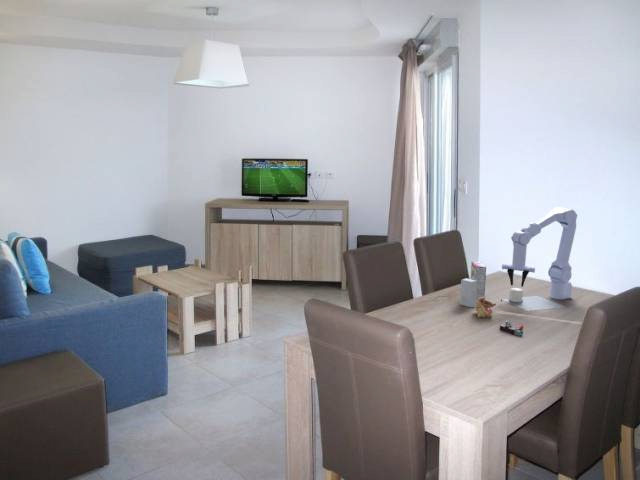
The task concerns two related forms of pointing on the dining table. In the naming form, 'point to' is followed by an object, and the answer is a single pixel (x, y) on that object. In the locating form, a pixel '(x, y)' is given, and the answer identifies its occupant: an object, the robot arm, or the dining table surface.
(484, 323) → the dining table surface
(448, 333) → the dining table surface
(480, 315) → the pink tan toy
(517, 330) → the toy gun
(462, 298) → the skincare box
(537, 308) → the board
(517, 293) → the knob
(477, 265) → the candy bar box
